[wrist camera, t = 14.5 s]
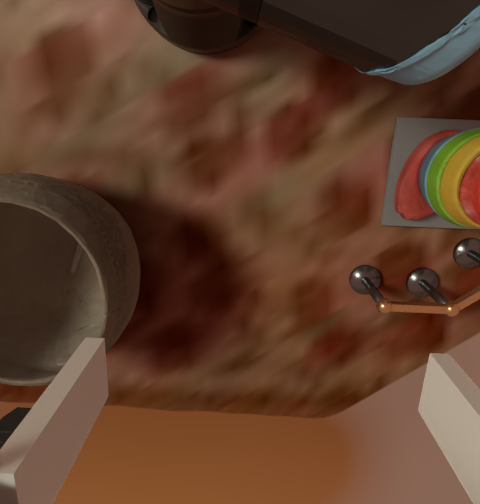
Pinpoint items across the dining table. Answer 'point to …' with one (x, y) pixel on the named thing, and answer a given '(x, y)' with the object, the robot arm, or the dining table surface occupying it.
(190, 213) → the dining table surface
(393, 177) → the mat
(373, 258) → the dining table surface
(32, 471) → the robot arm
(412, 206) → the stacking bear
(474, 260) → the miniature post railing
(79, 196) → the bowl
